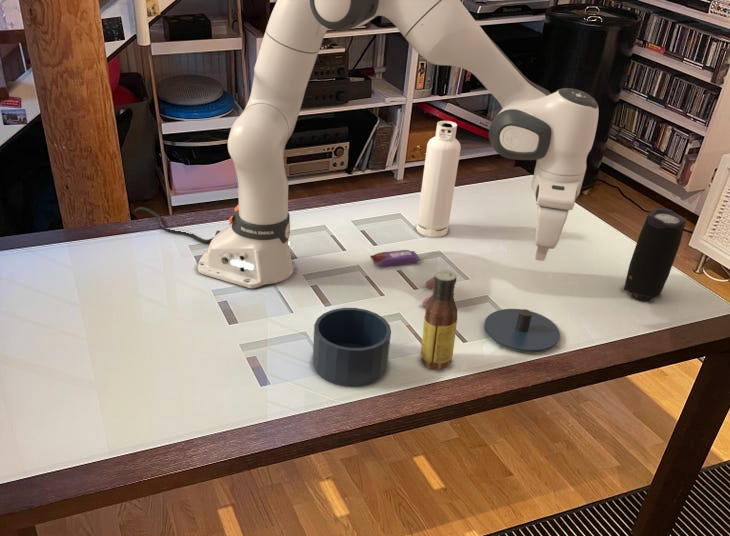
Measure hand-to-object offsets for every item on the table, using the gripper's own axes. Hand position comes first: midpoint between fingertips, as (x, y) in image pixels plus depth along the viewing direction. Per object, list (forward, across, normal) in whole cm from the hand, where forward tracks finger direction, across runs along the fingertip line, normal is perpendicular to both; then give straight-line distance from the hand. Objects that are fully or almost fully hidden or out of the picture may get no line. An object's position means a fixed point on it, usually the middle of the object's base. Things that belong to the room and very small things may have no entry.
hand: (540, 247), depth 149 cm
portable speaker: (+20, -26, +26) cm, 42 cm away
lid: (+20, 0, 0) cm, 20 cm away
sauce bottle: (+21, +16, -16) cm, 30 cm away
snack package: (+21, -22, -31) cm, 43 cm away
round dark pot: (+20, +22, -32) cm, 44 cm away
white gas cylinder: (+21, -42, -25) cm, 53 cm away
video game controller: (+21, -8, -19) cm, 29 cm away
